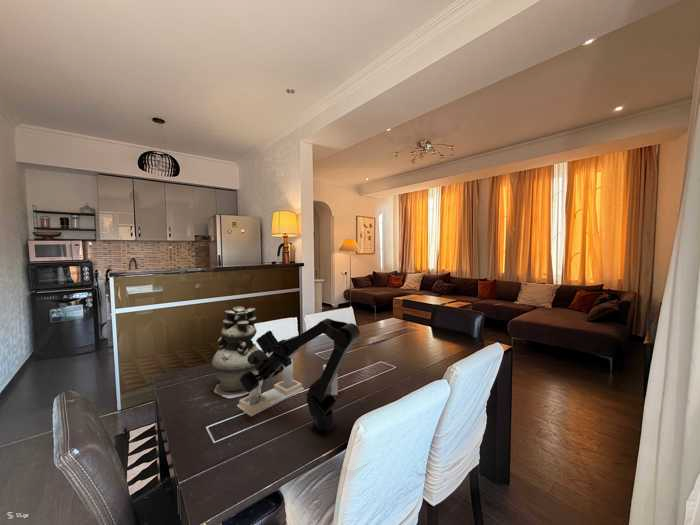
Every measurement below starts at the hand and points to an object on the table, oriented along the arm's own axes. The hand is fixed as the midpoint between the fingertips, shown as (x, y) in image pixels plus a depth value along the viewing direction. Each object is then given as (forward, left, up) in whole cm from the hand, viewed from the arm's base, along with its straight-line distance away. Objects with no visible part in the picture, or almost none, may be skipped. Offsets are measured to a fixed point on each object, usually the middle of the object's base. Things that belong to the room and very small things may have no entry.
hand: (251, 385), depth 111 cm
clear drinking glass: (-1, 0, -8) cm, 8 cm away
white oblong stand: (-1, -8, -8) cm, 12 cm away
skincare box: (-17, -26, -8) cm, 33 cm away
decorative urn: (+19, -4, -8) cm, 21 cm away
